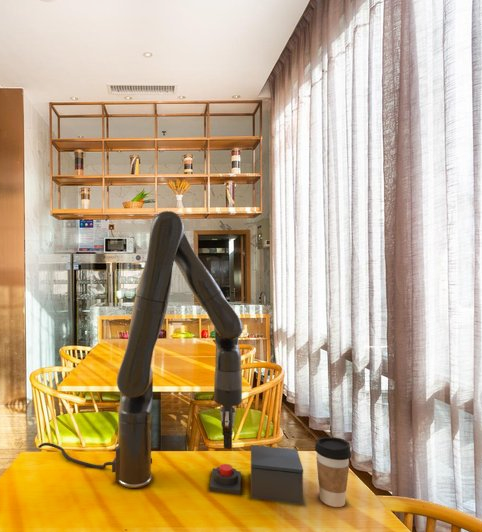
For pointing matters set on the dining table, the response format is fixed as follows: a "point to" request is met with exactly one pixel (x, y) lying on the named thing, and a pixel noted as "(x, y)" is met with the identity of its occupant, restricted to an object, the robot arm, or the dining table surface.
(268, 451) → the lid
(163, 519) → the dining table surface
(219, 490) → the block
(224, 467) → the button
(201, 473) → the dining table surface
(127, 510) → the dining table surface
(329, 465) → the coffee cup
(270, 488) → the dark grey lidded box
